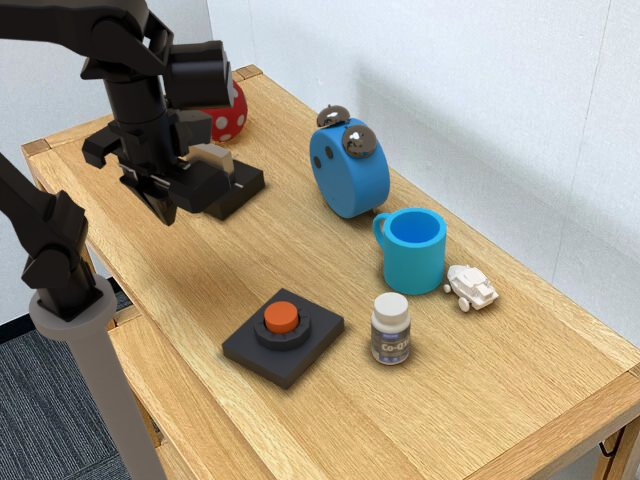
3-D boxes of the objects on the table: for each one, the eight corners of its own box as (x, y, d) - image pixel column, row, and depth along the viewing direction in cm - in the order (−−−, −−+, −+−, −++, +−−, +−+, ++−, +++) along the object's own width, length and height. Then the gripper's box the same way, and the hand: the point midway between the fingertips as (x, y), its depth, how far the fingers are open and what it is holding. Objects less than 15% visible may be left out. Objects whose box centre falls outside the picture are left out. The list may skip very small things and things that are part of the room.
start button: (284, 339, 91) (283, 329, 90) (259, 326, 93) (257, 316, 91) (304, 319, 93) (303, 309, 92) (279, 306, 95) (278, 296, 93)
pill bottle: (382, 371, 92) (381, 323, 85) (365, 345, 95) (363, 297, 88) (416, 357, 93) (418, 309, 87) (398, 332, 96) (399, 284, 89)
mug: (456, 274, 102) (460, 227, 96) (412, 303, 99) (414, 256, 93) (395, 233, 109) (396, 186, 103) (352, 259, 105) (350, 212, 99)
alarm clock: (391, 221, 111) (392, 131, 99) (356, 237, 108) (352, 147, 97) (344, 178, 118) (339, 90, 107) (310, 192, 116) (302, 103, 105)
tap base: (270, 183, 118) (268, 166, 116) (218, 225, 112) (214, 208, 109) (212, 159, 123) (209, 142, 121) (159, 198, 116) (154, 181, 114)
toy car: (471, 320, 97) (474, 297, 94) (435, 284, 101) (436, 261, 98) (501, 305, 98) (504, 282, 95) (463, 270, 103) (466, 247, 100)
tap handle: (236, 179, 114) (230, 149, 110) (227, 186, 113) (221, 156, 109) (197, 163, 117) (190, 133, 113) (188, 169, 116) (181, 139, 112)
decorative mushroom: (149, 73, 125) (209, 63, 116) (201, 83, 134) (261, 74, 124) (151, 142, 127) (210, 137, 118) (202, 148, 135) (261, 144, 126)
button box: (286, 390, 90) (283, 368, 87) (224, 355, 94) (218, 334, 91) (344, 329, 97) (343, 307, 94) (283, 299, 101) (280, 277, 98)
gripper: (253, 101, 82) (269, 216, 94) (134, 56, 90) (162, 167, 101) (181, 150, 76) (207, 266, 88) (60, 97, 84) (99, 210, 95)
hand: (169, 223), depth 93 cm, fingers closed
